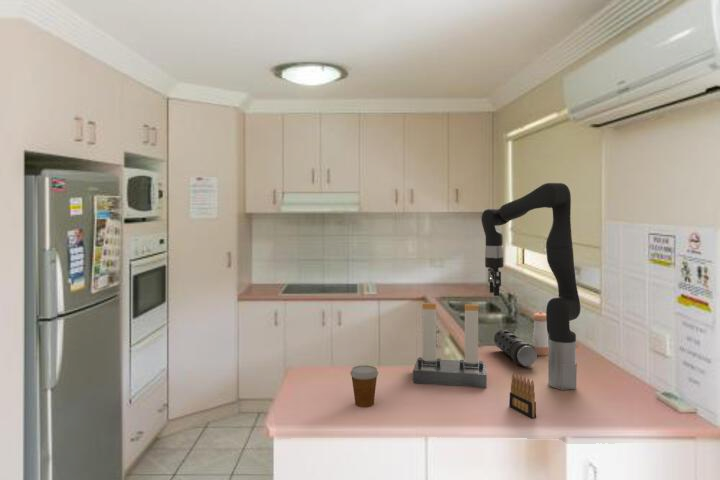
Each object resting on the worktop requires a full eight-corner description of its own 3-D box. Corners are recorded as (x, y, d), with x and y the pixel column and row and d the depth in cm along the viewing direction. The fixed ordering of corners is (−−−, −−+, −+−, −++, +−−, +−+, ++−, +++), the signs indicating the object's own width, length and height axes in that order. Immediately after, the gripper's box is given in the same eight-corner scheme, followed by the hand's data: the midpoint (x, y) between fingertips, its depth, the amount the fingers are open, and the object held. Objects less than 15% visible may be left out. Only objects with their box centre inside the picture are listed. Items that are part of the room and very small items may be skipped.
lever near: (464, 365, 199) (464, 304, 197) (478, 366, 198) (478, 304, 196) (464, 367, 197) (464, 305, 195) (478, 368, 195) (478, 305, 194)
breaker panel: (417, 370, 210) (417, 352, 209) (485, 374, 204) (485, 356, 204) (412, 383, 194) (412, 364, 194) (486, 388, 188) (486, 368, 188)
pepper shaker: (528, 352, 235) (528, 310, 233) (539, 350, 238) (540, 309, 237) (540, 356, 228) (541, 313, 227) (552, 354, 231) (552, 312, 230)
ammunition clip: (536, 418, 162) (536, 380, 161) (531, 419, 161) (532, 381, 160) (513, 406, 172) (513, 370, 171) (509, 406, 171) (509, 371, 170)
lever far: (422, 363, 202) (422, 302, 201) (436, 363, 201) (436, 303, 200) (422, 364, 200) (422, 303, 199) (435, 365, 199) (435, 304, 197)
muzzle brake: (513, 350, 238) (513, 328, 237) (538, 369, 210) (538, 344, 209) (493, 351, 237) (493, 329, 237) (515, 370, 209) (516, 345, 209)
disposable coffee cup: (349, 399, 179) (349, 365, 178) (377, 398, 179) (376, 364, 179) (351, 409, 169) (350, 374, 169) (380, 408, 170) (379, 373, 169)
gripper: (482, 255, 225) (482, 291, 226) (488, 257, 211) (488, 296, 212) (499, 254, 225) (499, 291, 226) (507, 257, 211) (507, 296, 211)
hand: (494, 294), depth 219 cm, fingers open, 8 cm apart
